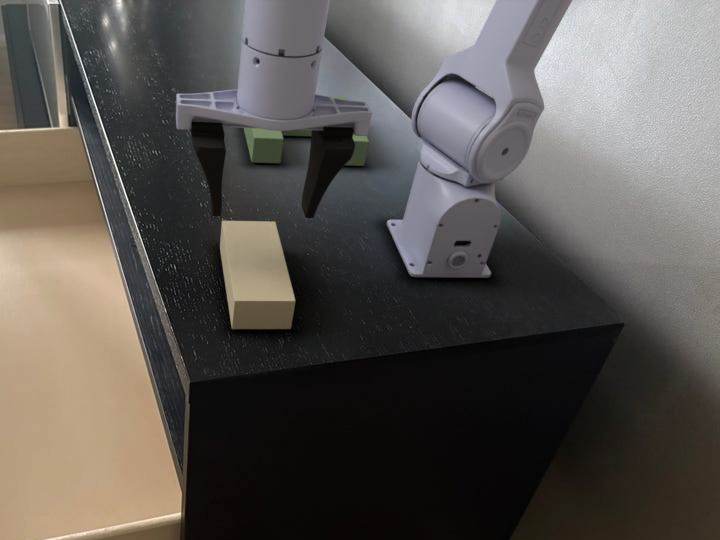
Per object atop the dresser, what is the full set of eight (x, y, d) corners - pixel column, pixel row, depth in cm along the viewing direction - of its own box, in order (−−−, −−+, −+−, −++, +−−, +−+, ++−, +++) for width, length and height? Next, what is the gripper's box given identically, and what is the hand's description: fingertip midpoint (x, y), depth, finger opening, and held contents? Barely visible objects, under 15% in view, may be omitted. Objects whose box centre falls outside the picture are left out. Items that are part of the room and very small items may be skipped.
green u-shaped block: (364, 165, 86) (369, 141, 84) (251, 162, 84) (254, 137, 82) (342, 119, 95) (347, 96, 93) (240, 116, 93) (242, 92, 91)
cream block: (290, 329, 63) (295, 300, 61) (231, 329, 63) (234, 300, 61) (271, 248, 72) (275, 221, 70) (219, 247, 71) (221, 220, 69)
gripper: (369, 28, 57) (337, 188, 66) (176, 17, 55) (171, 184, 64) (392, 64, 52) (355, 232, 61) (180, 53, 50) (174, 229, 59)
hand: (261, 211), depth 62 cm, fingers open, 7 cm apart
